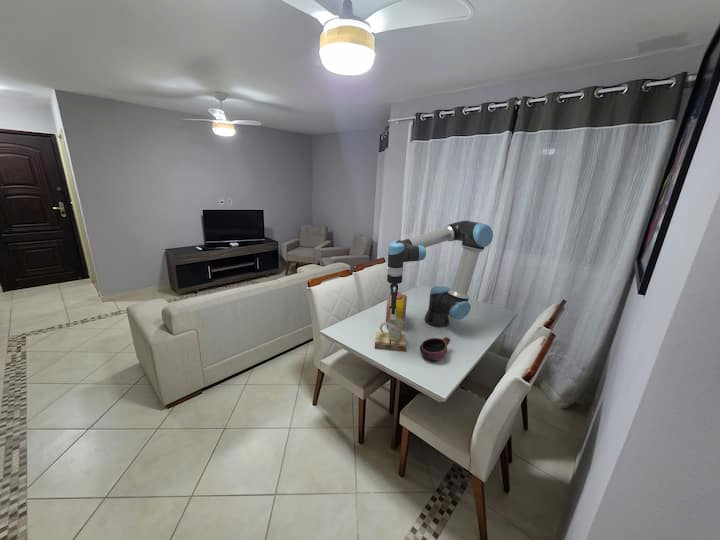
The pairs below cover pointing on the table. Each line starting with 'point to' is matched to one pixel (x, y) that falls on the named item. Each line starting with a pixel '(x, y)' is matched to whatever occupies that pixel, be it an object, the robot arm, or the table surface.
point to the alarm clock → (397, 307)
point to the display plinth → (389, 342)
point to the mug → (394, 329)
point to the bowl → (434, 348)
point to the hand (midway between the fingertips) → (392, 313)
